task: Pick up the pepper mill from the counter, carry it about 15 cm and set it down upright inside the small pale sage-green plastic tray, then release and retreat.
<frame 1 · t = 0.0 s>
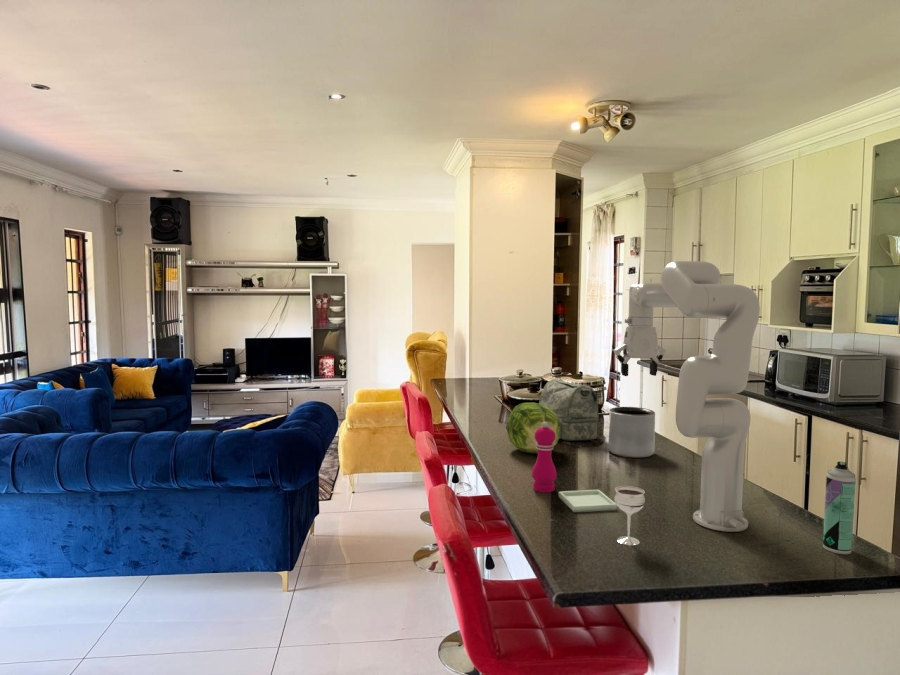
hand: (639, 375, 190), 31 cm above the counter, fingers open, 9 cm apart
spray can: (836, 549, 133), on the counter
tray: (586, 503, 162), on the counter
lettuce: (536, 453, 213), on the counter
lunch bag: (567, 435, 241), on the counter
wineglass: (628, 541, 137), on the counter
pepper mill: (543, 489, 173), on the counter
planter: (630, 453, 214), on the counter
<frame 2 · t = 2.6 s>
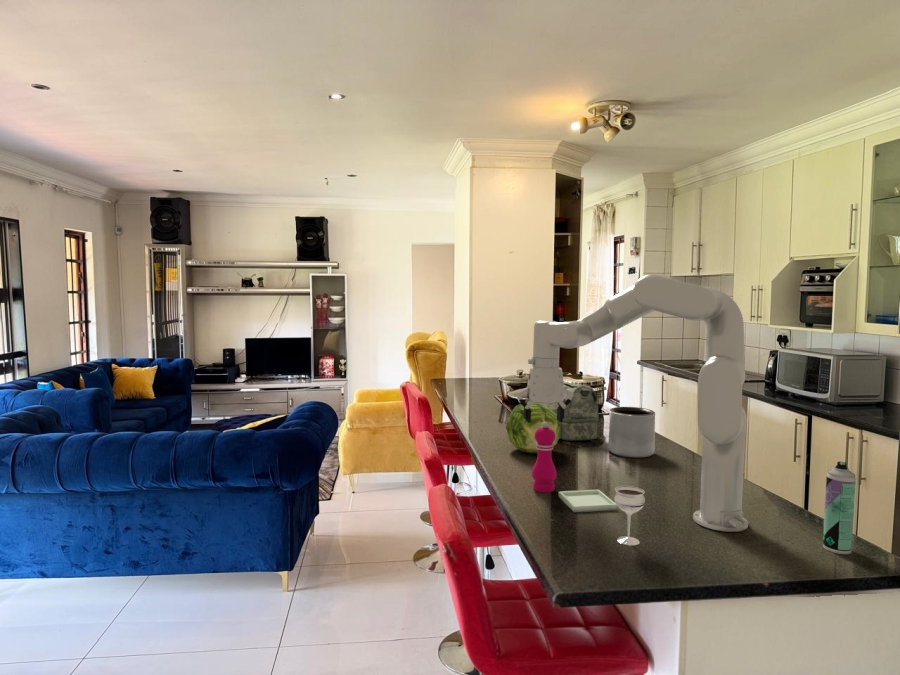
hand: (543, 421, 172), 20 cm above the counter, fingers open, 9 cm apart
nothing on the counter moved.
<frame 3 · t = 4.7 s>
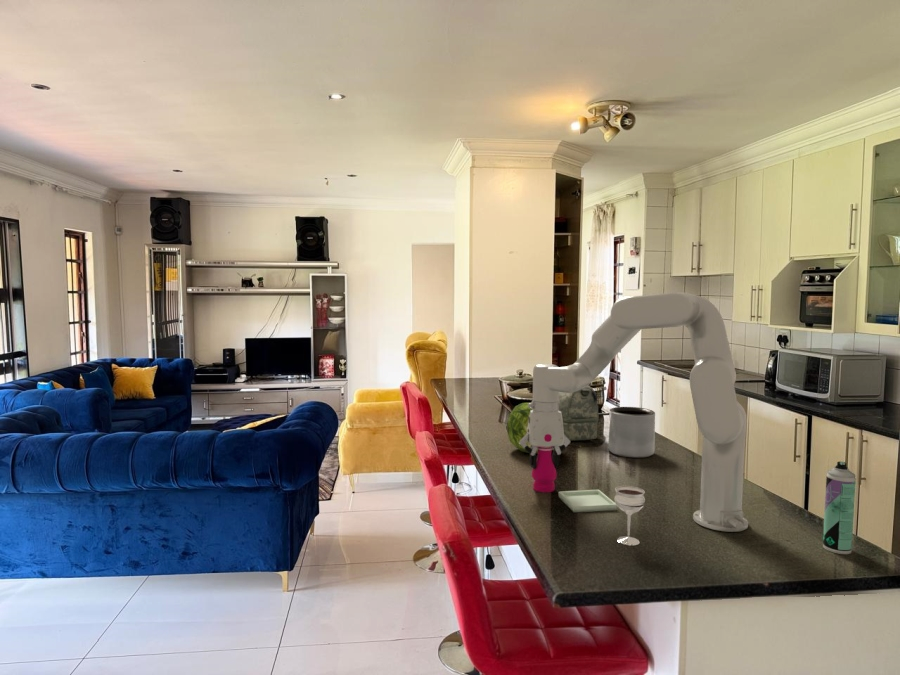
hand: (544, 466, 173), 7 cm above the counter, fingers closed on pepper mill, 5 cm apart
pepper mill: (543, 489, 173), on the counter, touching gripper
everything else where it was.
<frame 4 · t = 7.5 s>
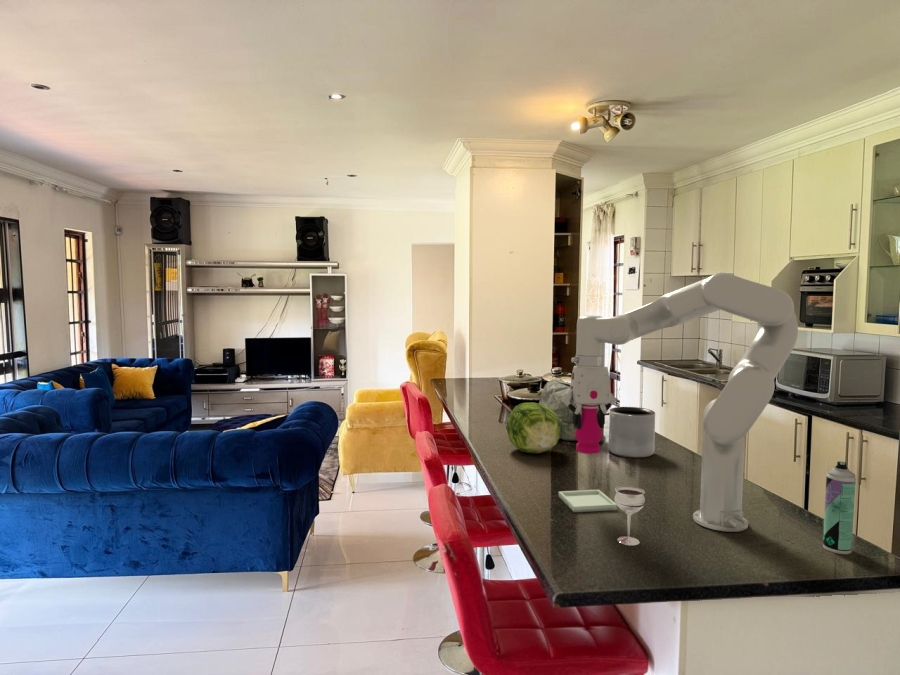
hand: (588, 426, 160), 21 cm above the counter, fingers closed on pepper mill, 5 cm apart
pepper mill: (587, 451, 161), point 14 cm above the counter, touching gripper
everything else where it was.
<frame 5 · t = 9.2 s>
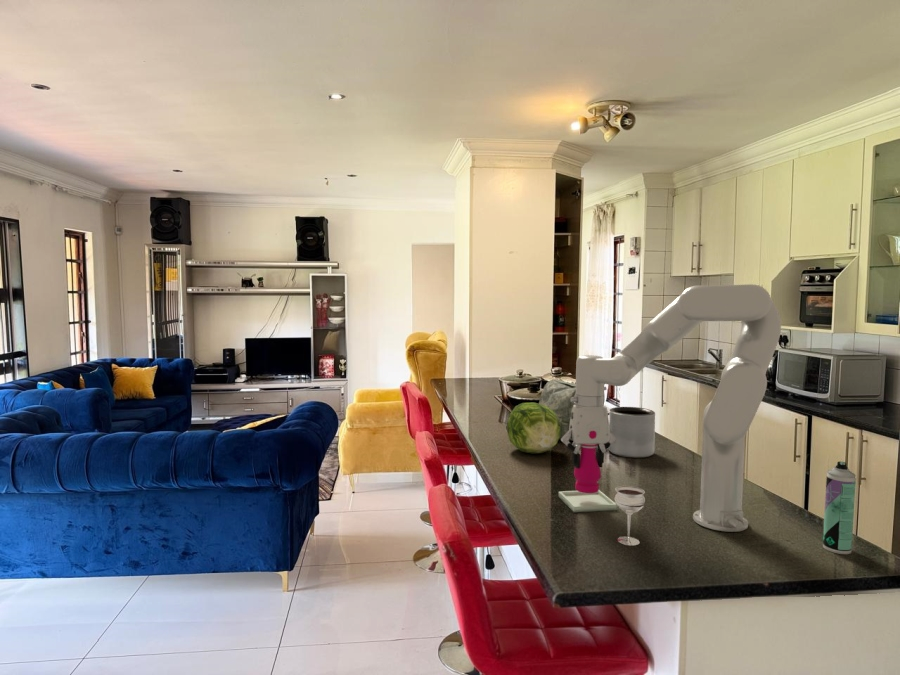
hand: (587, 465, 161), 10 cm above the counter, fingers closed on pepper mill, 5 cm apart
pepper mill: (586, 490, 161), point 4 cm above the counter, touching gripper
everything else where it was.
when the fingers open (9 cm above the counter, at t = 10.3 s): pepper mill drops 2 cm, resting on tray.
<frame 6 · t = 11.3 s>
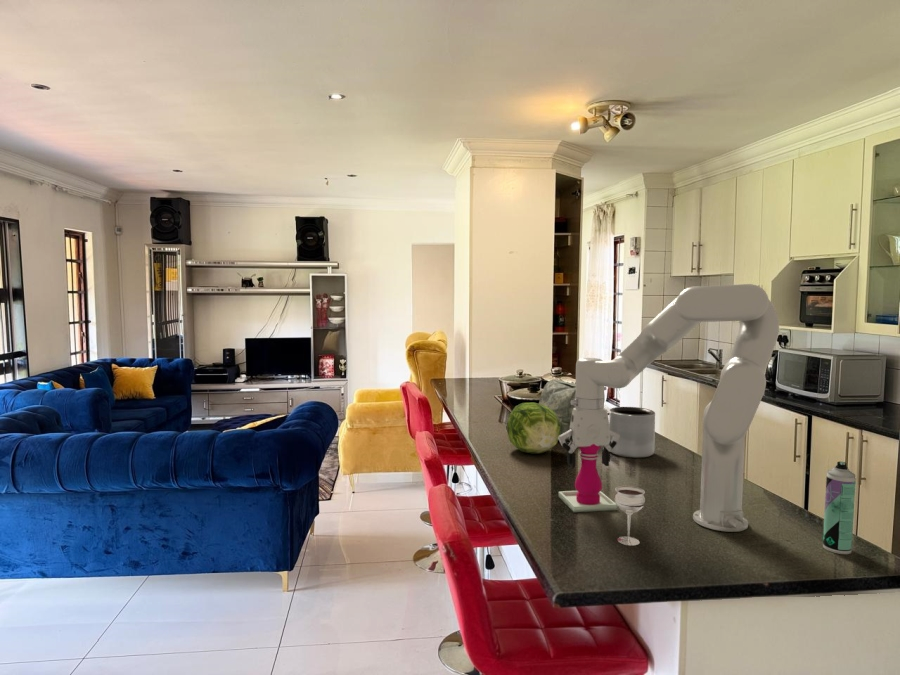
hand: (588, 465, 161), 11 cm above the counter, fingers open, 9 cm apart
pepper mill: (588, 501, 162), resting on tray
everything else where it was.
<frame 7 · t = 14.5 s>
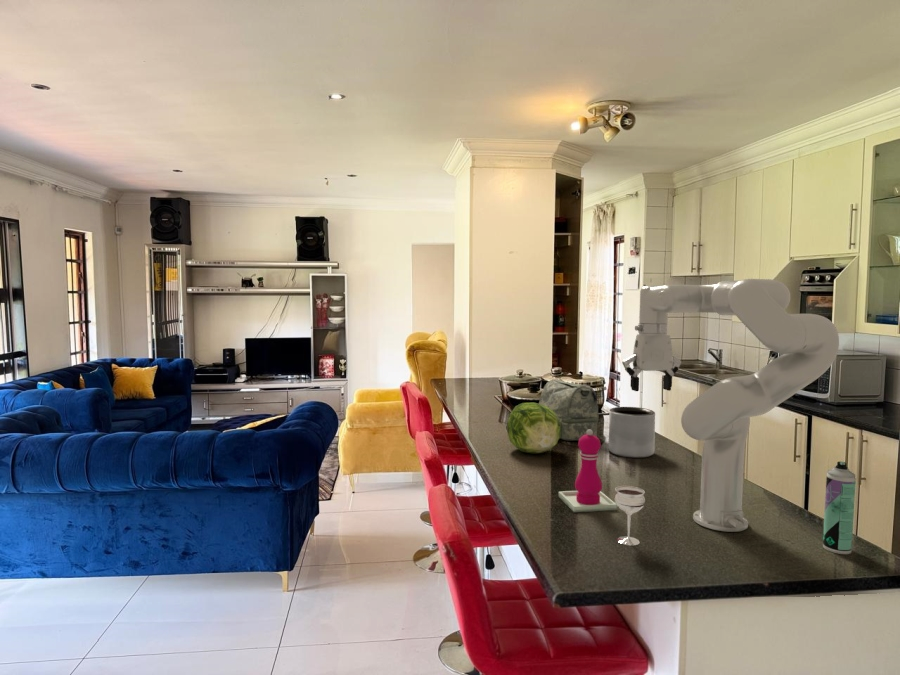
hand: (651, 390, 167), 30 cm above the counter, fingers open, 9 cm apart
nothing on the counter moved.
at the end: pepper mill inside the target area on the tray (0.3 cm from its centre), point 0.4 cm above the tray's base; pepper mill tilted 0°; the gripper is holding nothing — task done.
